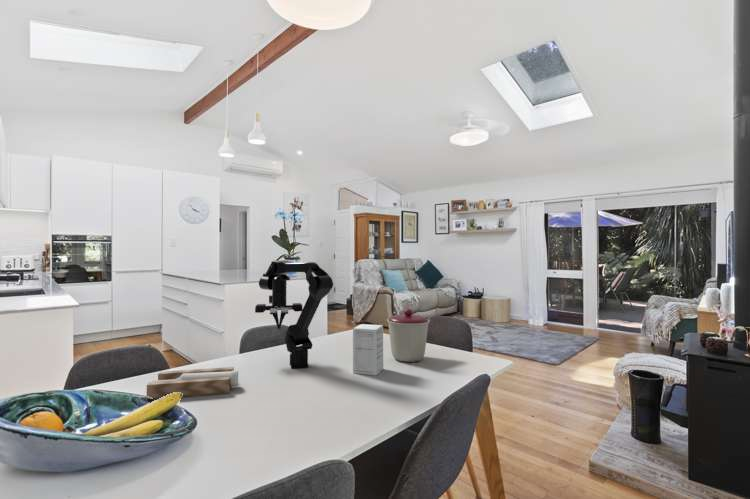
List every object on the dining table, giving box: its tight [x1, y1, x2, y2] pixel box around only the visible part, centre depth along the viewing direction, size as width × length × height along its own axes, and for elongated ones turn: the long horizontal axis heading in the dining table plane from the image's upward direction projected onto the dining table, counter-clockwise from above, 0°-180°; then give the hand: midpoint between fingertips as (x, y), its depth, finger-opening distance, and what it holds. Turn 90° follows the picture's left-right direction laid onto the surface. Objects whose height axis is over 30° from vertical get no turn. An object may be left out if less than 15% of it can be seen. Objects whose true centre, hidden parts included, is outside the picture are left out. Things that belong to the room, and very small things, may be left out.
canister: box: [386, 308, 431, 363], centre depth 157 cm, size 18×18×21 cm
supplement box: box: [352, 323, 384, 376], centre depth 141 cm, size 10×9×17 cm
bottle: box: [151, 369, 239, 388], centre depth 119 cm, size 5×5×25 cm
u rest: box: [146, 366, 235, 401], centre depth 120 cm, size 23×13×4 cm, turn 104°
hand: (279, 328), depth 154 cm, fingers closed
